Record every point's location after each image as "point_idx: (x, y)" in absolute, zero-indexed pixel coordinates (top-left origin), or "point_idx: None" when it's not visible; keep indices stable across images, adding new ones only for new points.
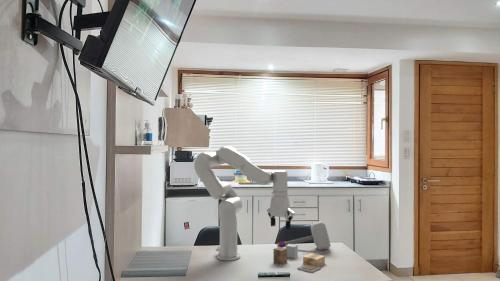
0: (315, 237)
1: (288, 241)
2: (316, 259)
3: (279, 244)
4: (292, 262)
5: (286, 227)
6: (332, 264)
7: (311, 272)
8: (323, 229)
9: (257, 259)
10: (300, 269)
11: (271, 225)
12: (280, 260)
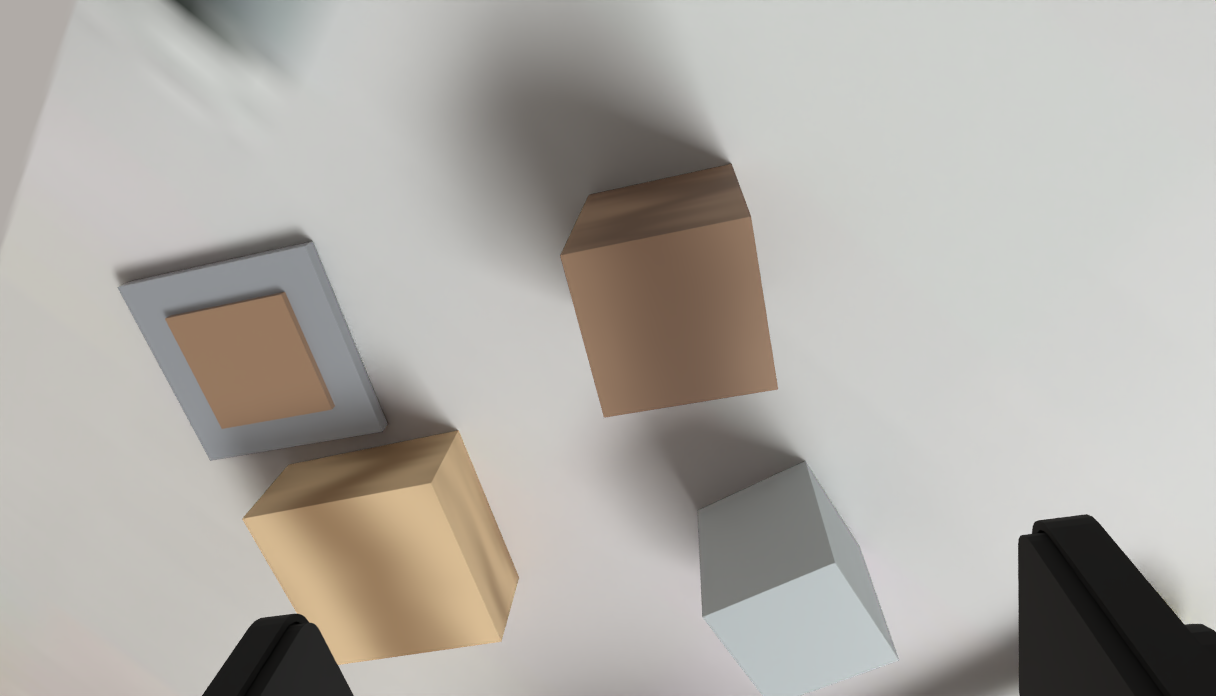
0: None
1: None
2: (249, 518)
3: None
4: (574, 372)
5: (232, 654)
6: None
7: (129, 282)
8: None
9: (1034, 43)
10: (271, 251)
11: (1060, 538)
12: (596, 206)
